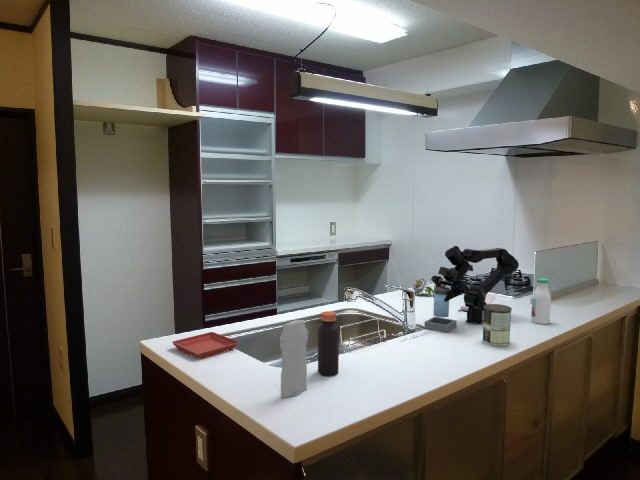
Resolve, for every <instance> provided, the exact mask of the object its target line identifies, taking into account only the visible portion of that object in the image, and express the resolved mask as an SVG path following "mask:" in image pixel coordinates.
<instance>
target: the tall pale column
mask: <svg viewBox="0 0 640 480" xmlns="http://www.w3.org/2000/svg"><path fill="white" fill-rule="evenodd" d="M308 332H309V331H308V329H307V328H306V324H305V320H304V319H300V320H298V319H296V320H292V321H290V322H287V323H284V324H283V329H282V333H281V335H280V337H279V349H281V352H280V353H281V372H280V398H281V399H288V398H291V396H292V397H297V396H299V395H301V394H302V393H304V392H306V391H307V388H308V383H307V382H308V378H307V377H308V367H307V363H306V362H307V357H306V355H307V342H308V339H309V338H308V337H309V333H308Z"/></svg>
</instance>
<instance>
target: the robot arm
mask: <svg viewBox="0 0 640 480" xmlns="http://www.w3.org/2000/svg"><path fill="white" fill-rule="evenodd" d="M444 256H445V257H446V259H447V260H448V261H449V263H450V264H451V265H452V266H454V267H449V268H447V267H445V266H440V267H439V269H438V273H437V274H438V275H436V274H434V275H432V277H431V278H430V280H431V281H432V282H433V284H434V285H435V287H439V286H440V287H449V288H450V291H449V293H448V294H447V296H446V297H445V299H444V301H445V302H447V301H449V302H450V301H451V300H453V299H454V298H456V297H459V296H463V302H464V304H465V306H466V307H469V308H468V311H466V322H468V323H473V324H483V321H484V305H487V303H486V302H485V299H486V295H487V294H489V292H490V291H491V290H493V289H494V288H495V286H497V284H498V283H499V282H501V280H502V279H504V278H505V276H508V275H512V274H513V273H515V272H516V271H517V270H518V269H519V266H520V264H519V263H520V262H519V260H517V259H516V258H515V257H514V256H513V255H512V254H510V253H509V252H508V250H507V249H506V248H502V247H501V248H500V247H496V248H490V249H489V248H488V249H472V248H464V249H463V251H462V250H460V247H459V246H458V245H453V247H451V248H449V249H447V250H446V251H445V253H444ZM487 259H495V262H496V268H495V269H494V270H493V271H492V273H490V274H489V275H488V276H487V277H486V278H485V279H484V280H483V281H482V282H481V283H480V284H479V285H478V286H477V287H476V286H470V287H469V286H468V285H467V283H466V282H465V279H466V278H465V276H466V275H467V273H468V272H469V271H470V272H473V271H474V267H473V264H477V263H480V262H482V261H483V260H487ZM470 263H473V264H470ZM439 275H441V276H439ZM432 295H433V296H432V298H433V299H434V294H432Z"/></svg>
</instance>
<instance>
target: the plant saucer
mask: <svg viewBox="0 0 640 480" xmlns="http://www.w3.org/2000/svg"><path fill="white" fill-rule="evenodd" d="M239 343H240V342H239V341H237V340H234V339H232V338H229V337H227V336H224V335H223V334H219V333H218V332H215V331H214V332H213V331H209V332H205V333H202V334H197V335H192V336H189V337H184V338H180V339H177V340H173V341H172V344H173V345H174V346H175V348H176V349H178V350H179V351H181V352H184V353H186V354H187V355H189V354H190V355H189V356H191V355H192V356H191V357H193V358H196V359H198V358H201V359H204V357H205V358H208V357H210V355H211V356H214V355H213V354H215V355H218V354H220V352H222V353H225V352H228V351H227V350H229V351H232V350H233V349H235V347H236V346H237V345H238V344H239ZM231 349H232V350H231ZM224 351H225V352H224ZM217 353H218V354H217ZM207 356H208V357H207Z"/></svg>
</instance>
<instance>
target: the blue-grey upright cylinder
mask: <svg viewBox="0 0 640 480" xmlns="http://www.w3.org/2000/svg"><path fill="white" fill-rule="evenodd" d="M450 289H451V287H449V286H445V287H440V286H439V287H436V286H435V287H434V286H433V291H434V294H433V295H434V298H433V317H440V318H449V315H450V300H449V301H447V302H445V301H444V299H445V297H446V296H447V294H448V293H449V291H450Z"/></svg>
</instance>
